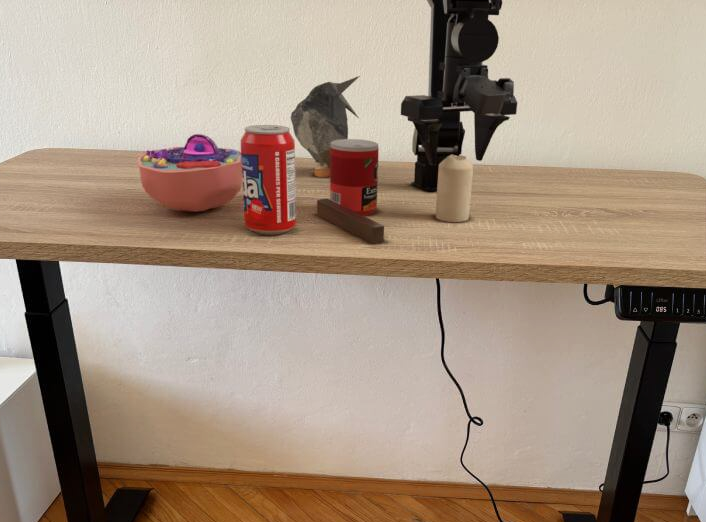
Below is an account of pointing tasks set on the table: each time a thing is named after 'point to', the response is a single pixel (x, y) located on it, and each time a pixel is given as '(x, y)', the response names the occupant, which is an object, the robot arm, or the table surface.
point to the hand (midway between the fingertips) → (456, 162)
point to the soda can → (268, 179)
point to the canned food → (354, 174)
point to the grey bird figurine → (322, 122)
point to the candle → (454, 189)
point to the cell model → (192, 175)
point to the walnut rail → (351, 221)
